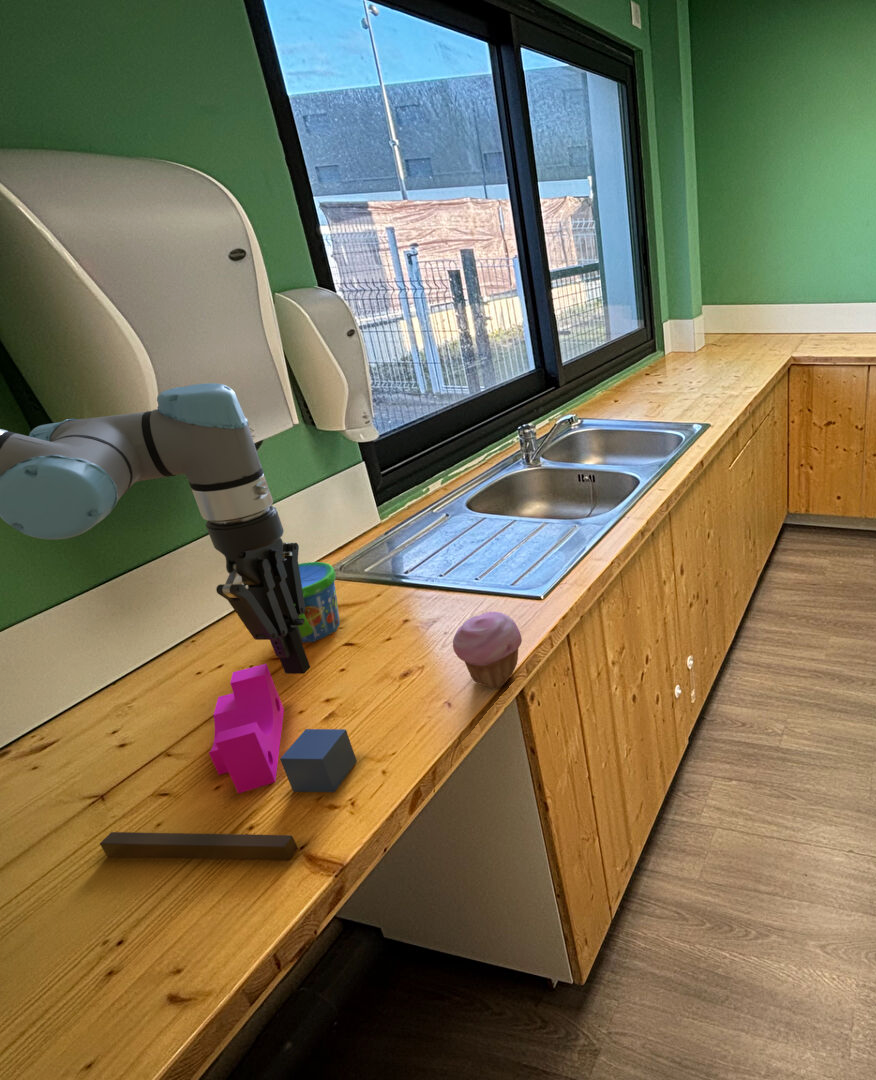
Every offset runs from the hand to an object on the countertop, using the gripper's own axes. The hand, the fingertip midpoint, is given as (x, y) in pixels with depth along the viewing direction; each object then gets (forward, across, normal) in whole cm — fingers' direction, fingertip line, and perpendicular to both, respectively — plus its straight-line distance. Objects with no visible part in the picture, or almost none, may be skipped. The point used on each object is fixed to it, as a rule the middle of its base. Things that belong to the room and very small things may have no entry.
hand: (297, 670), depth 96 cm
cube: (+4, -16, -12) cm, 20 cm away
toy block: (+4, -12, 0) cm, 12 cm away
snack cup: (+4, +15, +8) cm, 18 cm away
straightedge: (+4, -27, -5) cm, 27 cm away
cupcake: (+4, +3, -26) cm, 27 cm away
